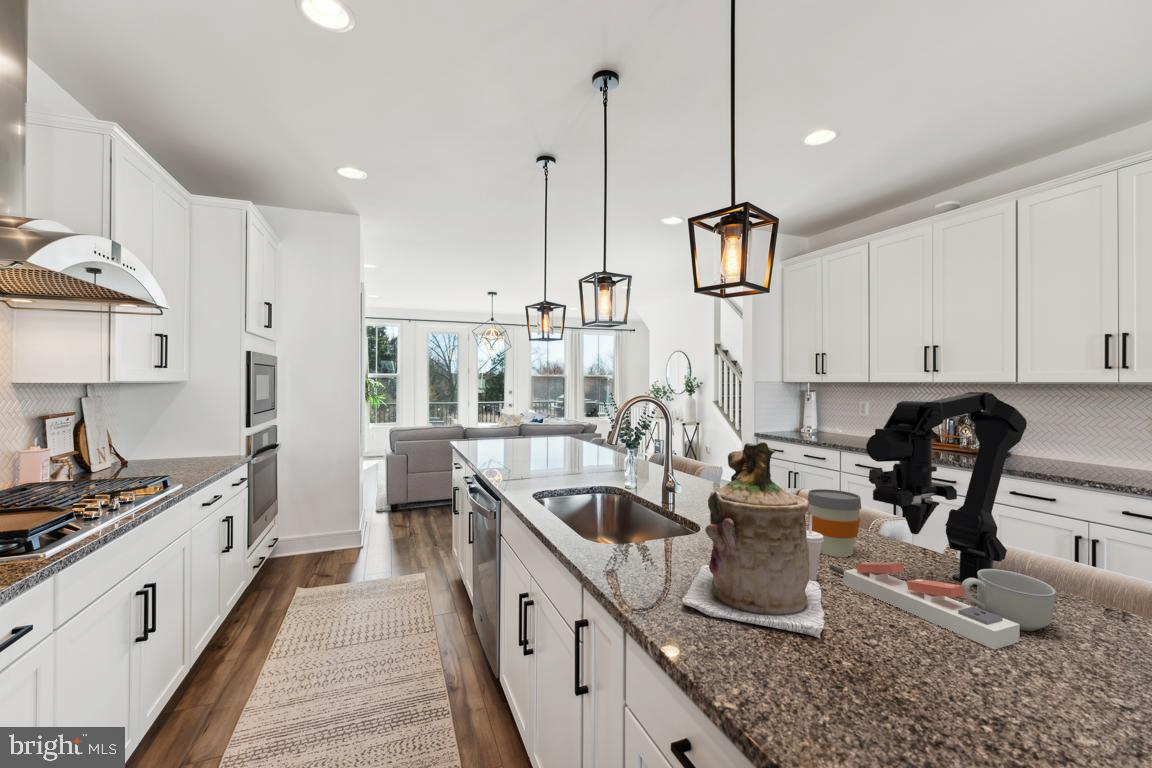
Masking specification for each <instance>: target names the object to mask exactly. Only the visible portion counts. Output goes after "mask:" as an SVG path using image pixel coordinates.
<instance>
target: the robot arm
mask: <svg viewBox="0 0 1152 768" xmlns="http://www.w3.org/2000/svg"><path fill="white" fill-rule="evenodd" d="M963 415H967V418H968V421H970V422H971V423H972V424H973V425H974V429H973V430H974V431H973V433H974V435H975V438H976V440H977V442H978V443H979V445H978V450H977V454H976V458H975V461H974V464H973V468H972V471H971V475H970V480H969V483H968V487H967V491H966V494H965V498H964V500H963V501H964V502H963V505H961V506H960V507H959V508H957V509H955V508H954V509H953V508H952V509H950V510H949V512H948V518H947V521H946V523H945V524H944V526H945V535H946V538H947V542H948V545H949V546H948V547H949V549H950V550H956V551H958V552H959V573H958V574H954V575H952V576H951V577H952V579H954V580H957V581H960V582H963V581H964V580H965V579H967V578H976V579H978V575H977V572H978V571H979V570H982V569H994V562H1002V561H1003V560H1005V559H1006V556H1007V552H1008V551H1007V548H1006V547H1005V546H1004V544H1003V542H1001V540H999V538H998V537H997V536H998V535H997V534H998V526H997V525H998V524H997V523H996V521H995V519H994V516H993V512H992V511H993V509H994V508H993V507H994V505H995V501H996V497H997V493H998V489H999V485H1000V482H1001V478H1002V474H1003V470H1004V467H1005V463H1006V458H1007V455H1008V452H1009V451H1010V450H1011V449H1012V448H1013V447H1015V446H1016V445H1018V444H1019V443H1020V442H1021V439H1022V438H1023V435H1024V432H1025V430H1026V428H1027V424H1028V423H1027V419H1026V417H1025V416H1024V415H1023V414H1022V413H1021V412H1020V411H1019V410H1018V409H1017V408H1016V407H1014V406H1012V405H1010V404H1009V403H1007V402H1004V401H1002V400H1000V399H998V398H997V397H996V396H995V394H993V393H991V392H988V391H968V392H965V393H963V394H958V395H954V396H949V397H944V398H939V399H934V400H932V401H931V400H930V401H926V400H925V401H922V400H921V401H920V400H919V401H918V400H901V401H899V402H897V404H896V407H895V408H894V409H893V411H892V413H891V414H890V415H889V418H888V419H887V421H886V422H885V425H884V426H883V428H875V429H874V434H872V435H871V436H869V438H868V440H867V442H866V445H865V446H866V447H865V448H866V452H867V455H868V456H869V457H870V459H872V460H873V461H874V462H877V463H881V462H882V463H883V462H884V463H885V462H898V463H894V464H893V466H892V470H888V471H883V470H882V468H880V467H879V468H877V467H876V468H872V469H869V471H868V481H869V482H870V484H872V485H874V486H875V488H874V489H873V490H872V500H873V501H875V502H881V503H885V504H889V505H894V506H898V507H899V508H900V509H901V511H902V513H903V515H904V519H905V521H906V524H907V526H908V528H909V531H910V534H912V535H919V534H920V533H921V530H922V529H923V527H924V525H926V523H927V521H928V520H929V518H930V516H931V515H932V514H933V512H934V511H935V509H936V508H937V507H938V506H940V502H937V501H934V500H933V498H934V497H933V496H938V497H943V498H945V500H948V501H952V500H953V501H955V500H957V499H958V497H957V495H958V494H957V493H958V490H957V489H956V488H955V487H954V485H952V484H945V483H940V482H934V481H933V479H932V478H933V475H932V474H933V472H937V471H938V469H937V468H938V466H934V465H933V440H939V439H940V438H941V437H940V435H939V434H938V433H936V432H935V431H934V430H933V429H934V428H936V427H938V426H941V425H943V423H944V421H945V420H947V419H950V418H955V417H959V416H963ZM972 586H974V587H977V585H976V584H973V585H972Z"/></svg>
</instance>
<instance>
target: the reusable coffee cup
mask: <svg viewBox="0 0 1152 768" xmlns="http://www.w3.org/2000/svg"><path fill="white" fill-rule="evenodd" d="M807 500H808V501H809V508H808V510H809V511H807V515H808V517H809V515H812V531H813V532H817V533H820V534H822V535H823V540H824V541H823V542H822V545H821V551H820V554H821V553H822V554H821V555H824V554H825V555H824V556H828V555H829V556H828V557H834V558H849V557H848V556H850V557H852V556H853V555H852V554H854V547H855V542H856V538H857V537H858V534H859V530H860V529H859V528H860V522H861V518H860V517H859V516H860V510H861V509H862V501H861V496H860V495H859V494H857V493H853V492H849V491H843V490H839V489H838V490H836V489H823V488H821V489H820V488H819V489H810V490H808V494H807ZM851 555H852V556H851Z"/></svg>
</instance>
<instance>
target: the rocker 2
mask: <svg viewBox="0 0 1152 768" xmlns="http://www.w3.org/2000/svg"><path fill="white" fill-rule="evenodd" d="M906 582H907V586H908V590H911V591H917V592H922V593H928V594H934V595H939V596H945V597H948V598H951V599H953V598H958V597H962V596H964V595H965V593H964V589H963V586H962V584H954V583H948V582H941V581H935V580H930V579H923V578H922V579H921V578H917V579H911V580H907V581H906Z"/></svg>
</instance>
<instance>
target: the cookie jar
mask: <svg viewBox="0 0 1152 768" xmlns="http://www.w3.org/2000/svg"><path fill="white" fill-rule="evenodd" d="M775 452H776V451H775V450H774V449H773V448H770V447H769V446H768V443H767V442H765V441H760V442H759V443H755V444H754V443H749V442H747V443H745V444H744V445H743V449H742V450H738V451H737V450H735V451H731V452H729V454H727V465H728V467H729V468H730V469H731V470H733V471H734V474H733V475H732V476H730V477H731V478H730V480H731V481H729V482H728V483H726V484H725V485H723V486H722V487H720V488H719V489H716V490H715V491H711V492H710V494H709V497H708V499H707V508H708V509H709V515H710V516H709V522H710V524H708V525H706V526H705V529H704V530H705V534H706V535H707V537H708V538H709V539H710V540H711V541H712V543H713V544H712V545H713V546H712V550H711V555H710V560H709V564H703V565H702V566H700V568H699V571H698V574H697V575H696V576H694V578H693V581H692V583H691V584H690V587H689V588H688V589H687V591H686V594H685V595H684V596H683V597H682V605H683V606H687V607H691V608H693V609H695V610H697V611H699V612H701V613H703V614H705V615H707V616H709V617H712V618H720V619H721V618H722V619H727V620H733V621H736V622H737V621H738V622H743V623H746V624H747V623H748V624H754V625H758V626H764V627H768V628H769V627H770V628H775V629H781V630H785V631H789V632H794V633H800V634H804V635H809V636H810V637H811V636H812V637H815V638H817V639H819V640H820V639H821V633H822V631H823V630H824V628H825V623H826V621H825V620H824V619H825V616H826V615H825V611H824V609H823V605H822V603H821V602H822V588H821V585H820V583H819V582H818V581H816V580H809V546H808V543H807V533H806V530H807V521H806V513H808V510H809V501H808V499H807V498H805V497H804V496H803V497H802V496H798V495H796V494H794V493H789V492H788V491H785V490H784V489H783V488H781V486H779V485H777V484H776V482H773V480H772V478H771V477H772V476H771V475H772V474H771V459H772V455H773V454H775Z"/></svg>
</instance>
